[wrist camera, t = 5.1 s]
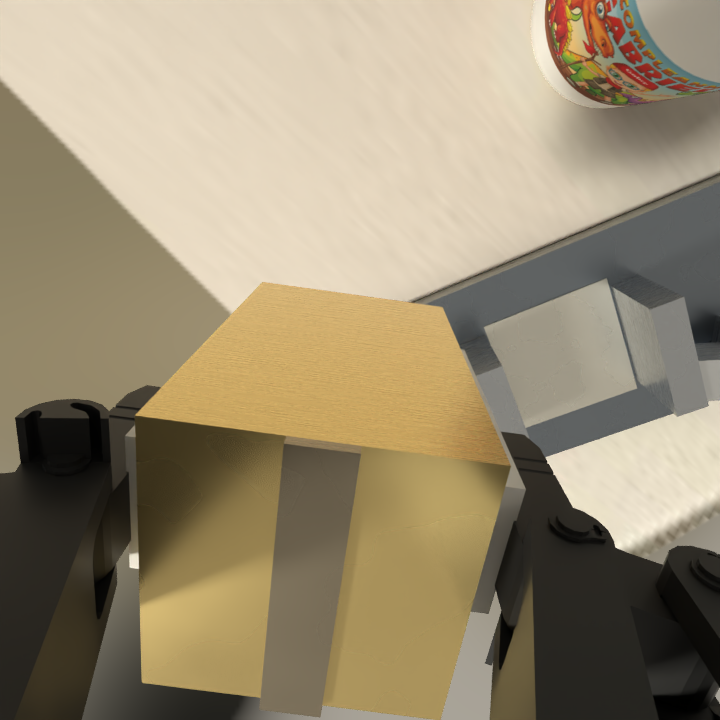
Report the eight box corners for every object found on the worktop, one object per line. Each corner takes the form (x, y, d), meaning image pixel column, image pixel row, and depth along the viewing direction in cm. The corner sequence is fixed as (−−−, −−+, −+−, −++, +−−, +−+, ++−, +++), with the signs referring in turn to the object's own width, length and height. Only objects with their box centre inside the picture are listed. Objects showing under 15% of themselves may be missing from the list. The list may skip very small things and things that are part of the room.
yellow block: (262, 282, 14) (127, 422, 7) (442, 307, 14) (514, 474, 7) (252, 439, 16) (136, 694, 8) (412, 461, 16) (441, 732, 8)
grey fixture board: (332, 336, 31) (323, 374, 25) (743, 164, 26) (832, 169, 21) (409, 491, 35) (415, 552, 29) (776, 364, 30) (858, 409, 25)
